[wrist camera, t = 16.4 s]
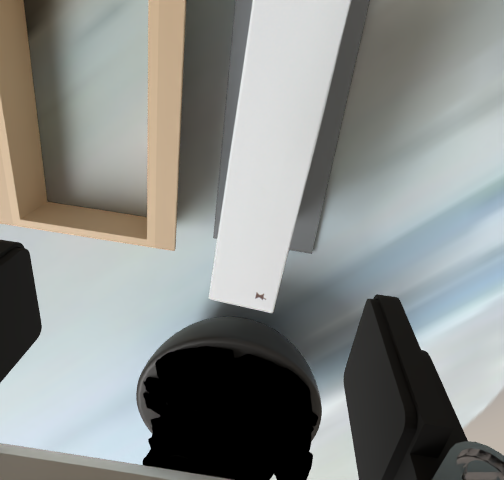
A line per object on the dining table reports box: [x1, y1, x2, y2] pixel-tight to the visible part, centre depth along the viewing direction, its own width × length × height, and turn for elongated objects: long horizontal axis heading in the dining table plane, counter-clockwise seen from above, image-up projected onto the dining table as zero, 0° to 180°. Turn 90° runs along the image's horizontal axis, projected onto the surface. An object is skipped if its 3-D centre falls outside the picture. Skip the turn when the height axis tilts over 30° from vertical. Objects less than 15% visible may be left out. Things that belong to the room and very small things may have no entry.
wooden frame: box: [0, 0, 186, 251], centre depth 36 cm, size 27×19×5 cm
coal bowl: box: [136, 317, 322, 480], centre depth 43 cm, size 20×20×19 cm
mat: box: [213, 0, 370, 254], centre depth 37 cm, size 27×11×1 cm, turn 173°
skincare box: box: [209, 0, 352, 313], centre depth 30 cm, size 21×6×16 cm, turn 170°
